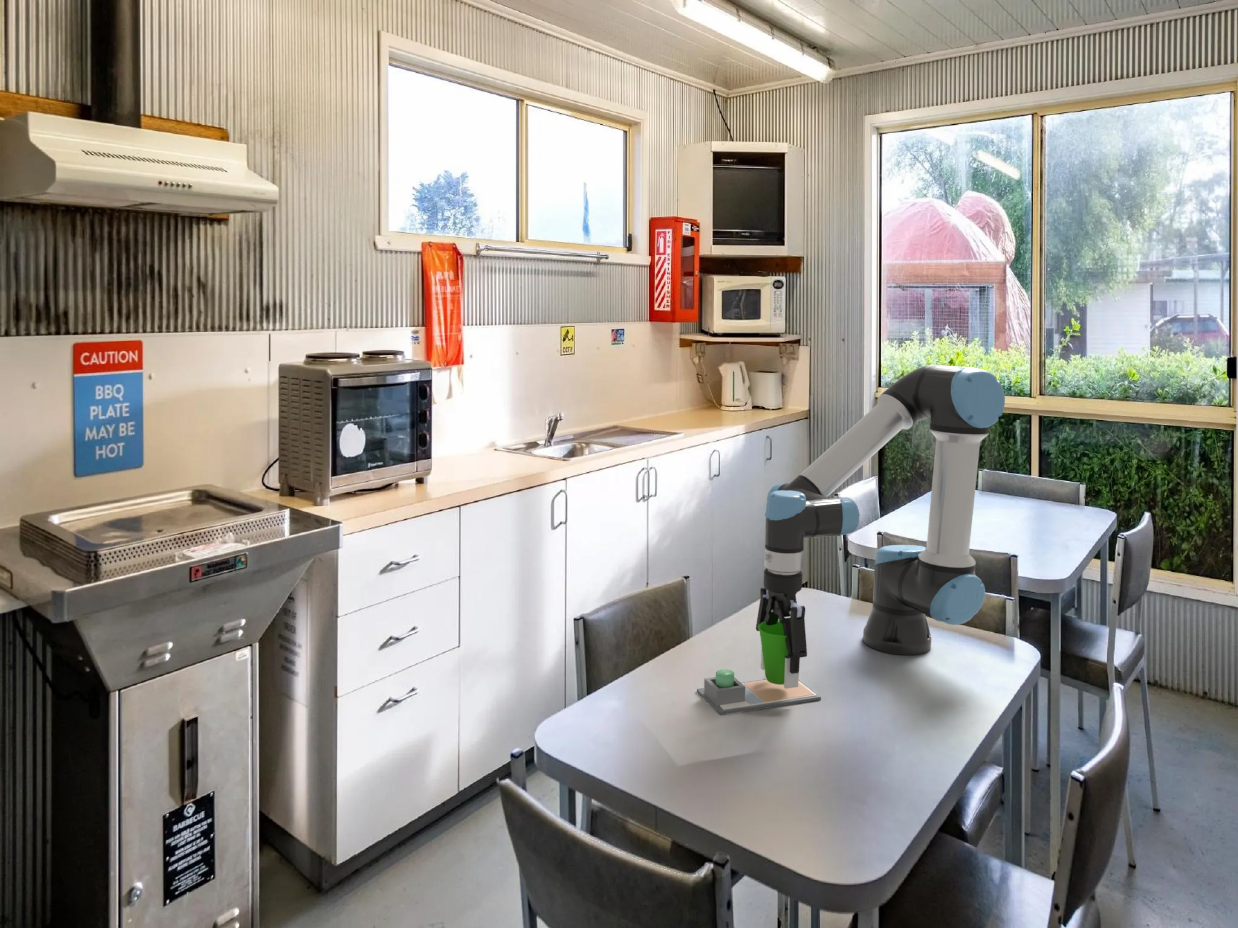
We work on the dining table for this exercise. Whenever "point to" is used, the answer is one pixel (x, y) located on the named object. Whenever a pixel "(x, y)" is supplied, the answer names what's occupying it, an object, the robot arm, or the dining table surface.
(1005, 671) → the dining table surface
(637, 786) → the dining table surface
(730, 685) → the button
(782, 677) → the cup
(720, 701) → the grey holder tray
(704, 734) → the dining table surface
